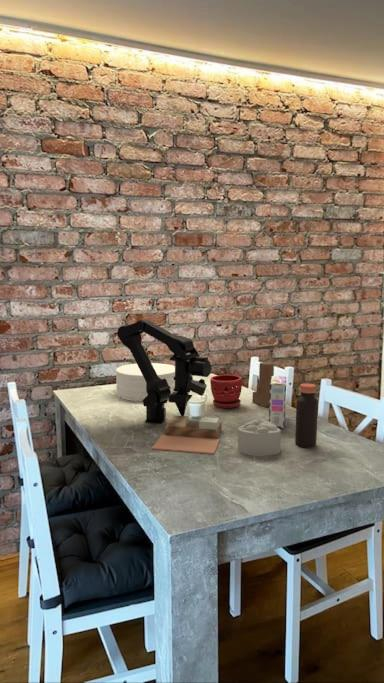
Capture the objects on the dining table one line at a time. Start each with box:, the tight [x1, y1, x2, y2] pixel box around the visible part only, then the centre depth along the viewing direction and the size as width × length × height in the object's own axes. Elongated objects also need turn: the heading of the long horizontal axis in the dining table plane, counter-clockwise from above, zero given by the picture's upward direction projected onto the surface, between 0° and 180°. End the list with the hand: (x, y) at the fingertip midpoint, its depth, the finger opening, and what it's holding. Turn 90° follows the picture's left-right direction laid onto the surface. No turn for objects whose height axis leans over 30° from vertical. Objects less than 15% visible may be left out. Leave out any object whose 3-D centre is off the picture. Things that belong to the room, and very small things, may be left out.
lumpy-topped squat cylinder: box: [237, 419, 282, 457], centre depth 159 cm, size 10×13×9 cm
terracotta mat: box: [151, 434, 221, 455], centre depth 164 cm, size 20×12×1 cm, turn 78°
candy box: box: [268, 375, 287, 429], centre depth 187 cm, size 14×6×16 cm, turn 168°
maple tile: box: [167, 414, 189, 428], centre depth 175 cm, size 6×5×2 cm
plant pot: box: [209, 374, 243, 409], centre depth 210 cm, size 13×13×12 cm
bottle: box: [294, 383, 319, 449], centre depth 163 cm, size 7×7×20 cm
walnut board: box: [164, 419, 223, 439], centre depth 175 cm, size 18×10×3 cm, turn 78°
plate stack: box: [115, 362, 176, 402], centre depth 229 cm, size 28×28×12 cm
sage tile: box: [198, 416, 220, 430], centre depth 172 cm, size 6×5×2 cm
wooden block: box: [251, 361, 275, 408], centre depth 211 cm, size 9×4×18 cm, turn 27°
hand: (182, 415), depth 182 cm, fingers closed
